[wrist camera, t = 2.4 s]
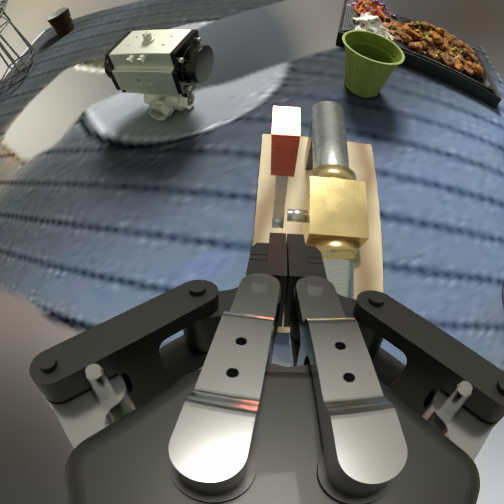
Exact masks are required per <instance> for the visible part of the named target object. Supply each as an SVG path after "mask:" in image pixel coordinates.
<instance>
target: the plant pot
mask: <svg viewBox="0 0 504 504" xmlns="http://www.w3.org/2000/svg"><path fill="white" fill-rule="evenodd" d="M342 40H343V43H344V44H345V53H346V60H345V86H346V87H347V88H348V89H349V90H350V92H352V93H353V94H355V95H357V96H360V97H364V98H370V97H375V96H377V94H378V93H379V91H380V90H381V88H382V87H383V85H384V84H385V82H386V81H387V79H388V78H389V76H390V75H391V73H392V72H393V71H394V70H395V69H396V67H397V66H398V65H399V64H401V63H403V62H404V60H405V56H404V53H403V51H402V50H401V49H400V48H399V47H398V46H397V45H396V44H395V43H394V42H392V41H391V40H389V39H388V38H386V37H383V36H382V35H379V34H377V33H374V32H370V31H364V30H351V31H348V32H346V33H344V34H343V36H342Z"/></svg>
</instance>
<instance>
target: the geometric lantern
mask: <svg viewBox="0 0 504 504" xmlns="http://www.w3.org/2000/svg"><path fill="white" fill-rule="evenodd" d="M7 1H8V0H2V1H0V3H1V2H2V3H1V4H0V6H1V5H2V4H3V5H2V6H1V7H0V9H1V10H0V14H1V11H2V10H3V13H2V15H3V14H4V15H5V16H6V17H7V19H6V18H4V17H2V15H0V18H1V17H2V18H4V19H6V20H8V21H9V22H8V21H7V22H8V23H10V24H11V25H12V26H13V27H14V29H15V30H16V31H17V33H18V34H19V35H20V37H21V38H22V39H23V41H24V42H25V43H26V45H27V46H28V47H29V49H30V51H28V52H27V53H29V52H31V55H30V57H29V59H28V61H26V62H24V61H23V60H22V59H21V57H23V56H24V55H26V54H27V53H25V54H24V55H22V56H21V57H19V55H18V54H17V53H16V52H15V51H14V50H13V48H12V47H11V46H10V45H9V44H8V43H7V41H6V40H5V39H4V38H3V37H2V35H1V34H0V37H1V38H2V39H3V41H4V42H5V43H6V44H7V45H8V46H9V48H10V49H11V50H12V51H13V52H14V53H15V55H16V56H17V57H18V59H20V60H21V61H22V62H23V64H24V66H23V68H22V69H21V70H20V69H19V67H21V66H22V65H23V64H22V65H21V66H19V67H17V65H16V63H15V62H16V61H17V60H18V59H16V60H15V61H14V59H13V58H12V57H11V55H10V54H9V53H8V51H7V50H6V49H5V48H4V46H3V45H2V43H1V42H0V47H1V49H2V50H3V51H4V52H5V54H6V55H7V56H8V58H9V59H10V60H11V62H12V64H14V66H15V67H16V70H18V72H16V70H15V69H13V68H11V67H10V66H11V65H12V64H11V65H8V63H7V62H6V60H5V59H4V58H3V56H2V55H1V53H0V56H1V57H2V59H3V60H4V62H5V63H6V65H7V66H8V68H7V70H6V72H7V71H8V69H9V68H11V69H13V70H14V72H15V74H14V72H13V74H14V75H12V76H11V77H9V78H8V79H6V80H5V81H3V82H2V80H3V78H4V76H5V74H6V72H5V74H4V75H3V77H2V79H1V80H0V84H3V83H6V82H11V84H12V85H14V84H15V83H17V82H18V81H20V80H21V79H23V78H25V77H26V76H28V75H29V74H30V72H31V70H32V68H33V66H34V64H33V63H35V62H33V60H32V58H33V55H34V52H35V49H34V48H33V47H32V46H31V44H30V43H29V42H28V41H27V40H26V39H25V38H24V36H23V35H22V34H21V33H20V32H19V31H18V29H17V28H16V27H15V26H14V25H13V23H12V22H11V20H10V18H9V17H8V16H7V15H6V14H5V12H4V10H5V7H6V4H7ZM4 4H5V6H4ZM3 6H4V9H3ZM7 22H5V23H7ZM5 23H4V24H5ZM8 23H7V24H8ZM4 24H3V25H4ZM7 24H6V26H7ZM3 25H2V26H3ZM2 26H0V27H2ZM4 28H5V27H4ZM4 28H3V29H4ZM3 29H2V30H3ZM2 30H1V31H0V33H1V32H2ZM31 48H32V49H31ZM32 51H33V52H32ZM31 56H32V58H31ZM29 60H30V62H31V64H33V66H32V68H31V70H30V72H29V71H28V69H27V68H28V66H29V65H31V64H30V62H29ZM28 62H29V64H28V66H27V63H28ZM25 66H26V67H25ZM24 67H25V68H26V70H27V71H28V72H29V73H28V74H27V73H26V70H25V71H22V70H23V69H25V68H24ZM21 71H22V72H23V73H25V74H26V76H24V77H23V78H21V79H20V80H18V81H17V82H15V83H14V81H13V82H12V80H15V78H17V77H18V76H20V75H21V74H23V73H21V74H20V75H18V76H17V74H18V73H19V72H21ZM15 75H16V76H17V77H16V76H15ZM13 76H15V78H14V79H12V77H13ZM10 78H11V79H12V80H11V79H10ZM9 79H10V81H7V80H9Z"/></svg>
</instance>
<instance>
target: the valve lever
mask: <svg viewBox="0 0 504 504" xmlns="http://www.w3.org/2000/svg"><path fill="white" fill-rule="evenodd" d="M299 142H300V108H297V107H284V106H273V119H272V134H271V175H275V176H276V182H275V200H274V202H273V217H272V228H282V229H283V225H284V212H285V201H286V193H287V185H288V177H294V174H295V168H296V162H297V155H298V148H299Z"/></svg>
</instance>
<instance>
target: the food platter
mask: <svg viewBox="0 0 504 504" xmlns="http://www.w3.org/2000/svg"><path fill="white" fill-rule="evenodd" d="M377 5H379V6H377ZM386 8H388V7H385V3H379V2H378V1H377V0H372V2H370V0H369V1H368V2H367V1H366V0H362V1H361V0H359V1H357V0H345V1H344V6H343V11H342V16H341V21H340V25H339V30H338V36H337V41H336V46H338V47H341V46H345V44H344V43H343V40H342V36H343V34H344V33H346V32H348V31H351V30H364V31H370V32H374V33H377V34H379V35H382V36H383V37H386V38H388V39H389V40H391V41H392V42H394V43H395V44H396V45H397V46H398V47H399V48H400V49H401V50H402V51H403V53H404V56H405V60H404V62H403V63H401V64H403V65H406V66H409V67H411V68H414V69H416V70H419V71H421V72H424V73H426V74H428V75H431V76H433V77H435V78H438V79H440V80H442V81H444V82H446V83H449V84H451V85H453V86H455V87H457V88H459V89H461V90H463V91H465V92H467V93H469V94H471V95H472V96H474V97H476V98H478V99H480V100H482V101H483V102H485V103H487V104H489V105H490V106H492V107H494V108H496V106H497V105H498V103H499V102H500V101H501V98H500V95H499V92H498V90H497V87H496V85H495V82H494V80H493V78H492V75H491V73H490V71H489V68H488V66H487V64H486V62H485V60H484V58H483V56H482V54H481V52H480V51H478V50H476V49H475V48H473V47H471V46H469V45H467V44H465V43H464V42H463V41H460V40H458V39H456V37H455V36H453V35H450V34H449V33H448V32H447V31H446V30H444V29H443V28H435V27H434V25H432V24H428V23H426V22H424V21H420V22H417V21H414V20H412V19H409V18H406V17H404V16H401V15H398V14H395V13H392V12H389V11H387V10H386ZM399 35H400V36H399Z"/></svg>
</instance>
